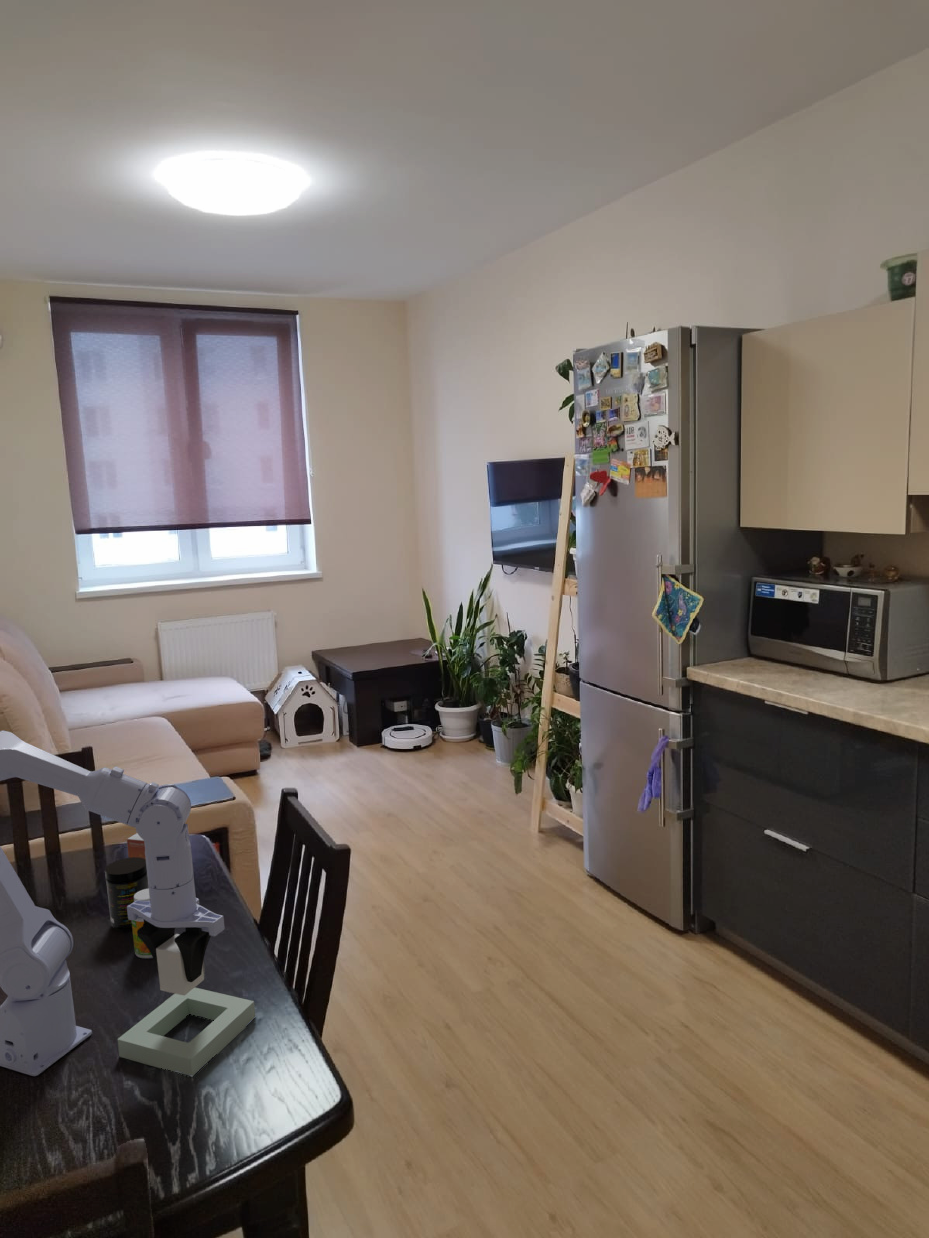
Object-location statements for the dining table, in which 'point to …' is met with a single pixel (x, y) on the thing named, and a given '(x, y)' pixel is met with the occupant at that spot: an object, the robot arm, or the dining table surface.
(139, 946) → the supplement bottle
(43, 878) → the dining table surface
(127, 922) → the supplement container
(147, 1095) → the dining table surface
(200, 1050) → the socket board
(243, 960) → the dining table surface
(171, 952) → the plug
